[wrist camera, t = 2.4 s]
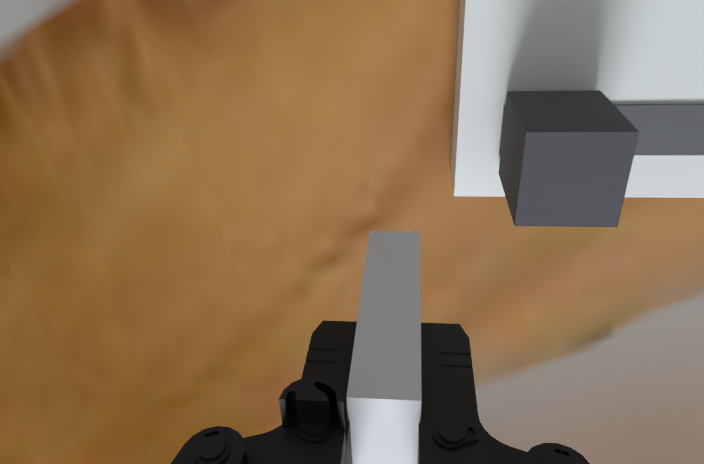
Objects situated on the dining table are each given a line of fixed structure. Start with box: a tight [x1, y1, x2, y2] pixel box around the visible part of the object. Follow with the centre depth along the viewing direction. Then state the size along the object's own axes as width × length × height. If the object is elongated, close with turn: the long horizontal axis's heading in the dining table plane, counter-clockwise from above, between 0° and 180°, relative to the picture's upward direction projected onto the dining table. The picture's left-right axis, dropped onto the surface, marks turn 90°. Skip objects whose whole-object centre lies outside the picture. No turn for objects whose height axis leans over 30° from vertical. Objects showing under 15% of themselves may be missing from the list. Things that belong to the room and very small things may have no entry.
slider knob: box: [499, 90, 639, 227], centre depth 24 cm, size 4×4×5 cm
